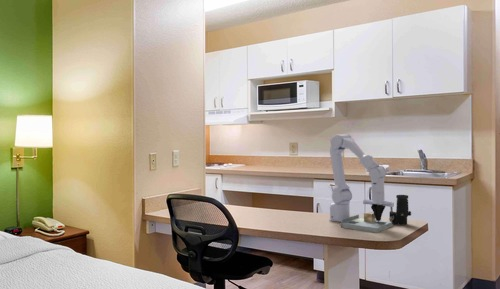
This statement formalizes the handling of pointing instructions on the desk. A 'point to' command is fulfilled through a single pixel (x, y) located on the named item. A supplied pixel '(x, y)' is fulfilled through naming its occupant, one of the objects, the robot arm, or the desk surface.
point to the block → (369, 217)
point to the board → (364, 224)
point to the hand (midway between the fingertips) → (378, 220)
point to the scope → (400, 211)
